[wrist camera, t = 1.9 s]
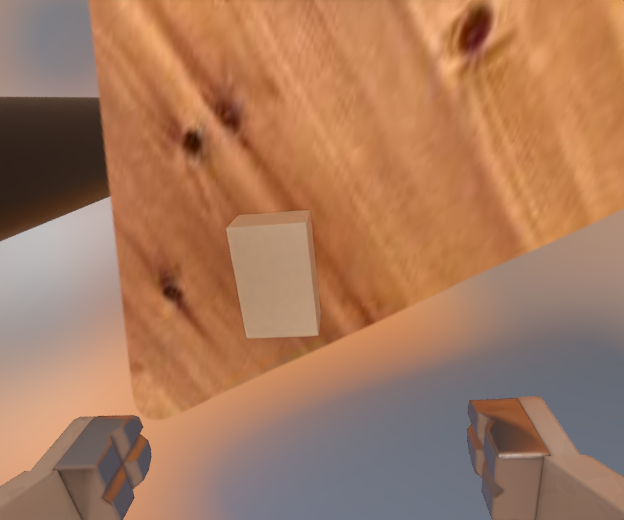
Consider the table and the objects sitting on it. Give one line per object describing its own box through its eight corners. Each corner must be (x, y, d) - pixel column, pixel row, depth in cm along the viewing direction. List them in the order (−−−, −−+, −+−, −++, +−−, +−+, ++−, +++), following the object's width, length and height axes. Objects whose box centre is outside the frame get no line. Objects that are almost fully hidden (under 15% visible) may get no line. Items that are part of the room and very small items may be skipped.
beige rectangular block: (255, 316, 30) (246, 339, 27) (237, 214, 27) (225, 228, 24) (321, 313, 29) (318, 336, 26) (310, 209, 26) (305, 222, 23)
